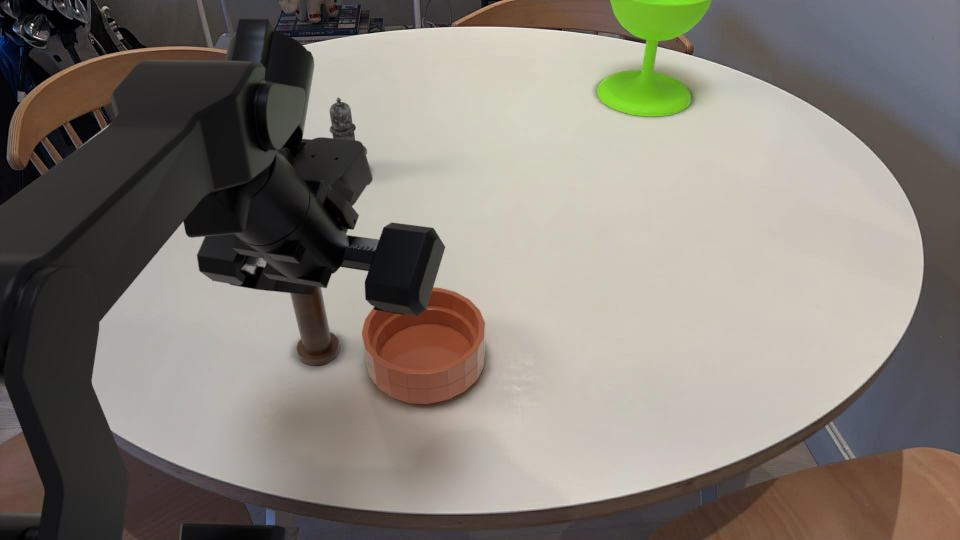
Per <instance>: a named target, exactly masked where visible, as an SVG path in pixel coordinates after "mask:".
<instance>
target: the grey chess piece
mask: <svg viewBox="0 0 960 540" xmlns="http://www.w3.org/2000/svg"><path fill="white" fill-rule="evenodd" d="M329 117H330V123H331V125H330V127H329V132H330V133H331V134H332V138H335V139H346V140H356V134H355V131H356V129H357V126H356V125H355V123H353V116H352V110H351V106H350V105H349V104H348V103H346V102H344V101H342V99H341V98H340V97H339V96H337V98H336V99H335V103H333V104H331V105H330V107H329ZM363 147H364V150H365V154H366V155H368V149H367V147H366V146H365V145H363Z"/></svg>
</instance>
